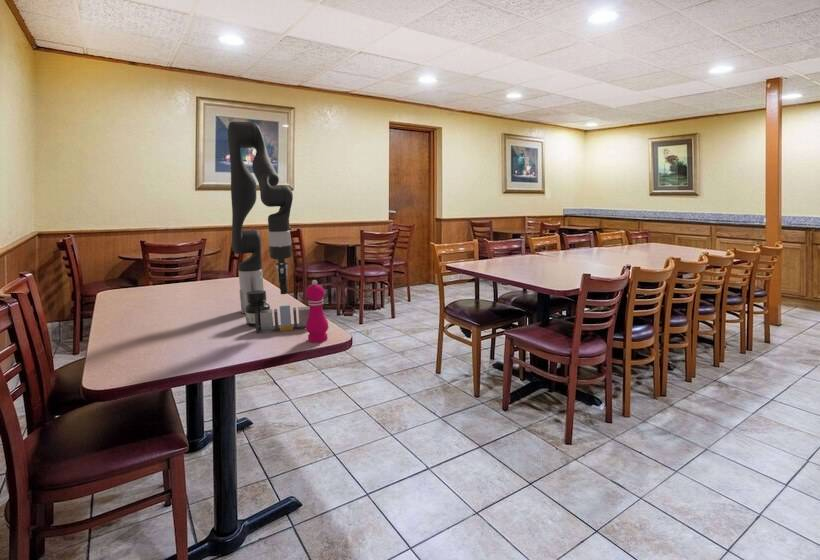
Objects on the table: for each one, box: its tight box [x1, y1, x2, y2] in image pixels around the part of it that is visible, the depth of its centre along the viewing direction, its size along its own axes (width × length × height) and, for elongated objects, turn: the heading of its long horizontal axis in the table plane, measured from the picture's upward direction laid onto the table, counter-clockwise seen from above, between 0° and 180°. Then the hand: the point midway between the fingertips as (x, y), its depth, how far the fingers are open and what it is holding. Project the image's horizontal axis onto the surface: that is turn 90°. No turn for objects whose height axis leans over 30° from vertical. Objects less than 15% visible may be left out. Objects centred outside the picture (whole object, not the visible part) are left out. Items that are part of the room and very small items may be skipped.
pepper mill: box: [305, 279, 329, 343], centre depth 159 cm, size 7×7×20 cm
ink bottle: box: [244, 290, 271, 327], centre depth 182 cm, size 10×9×12 cm
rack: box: [255, 305, 310, 334], centre depth 174 cm, size 20×5×7 cm, turn 104°
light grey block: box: [279, 304, 292, 326], centre depth 175 cm, size 4×5×7 cm
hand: (283, 292), depth 173 cm, fingers open, 2 cm apart
